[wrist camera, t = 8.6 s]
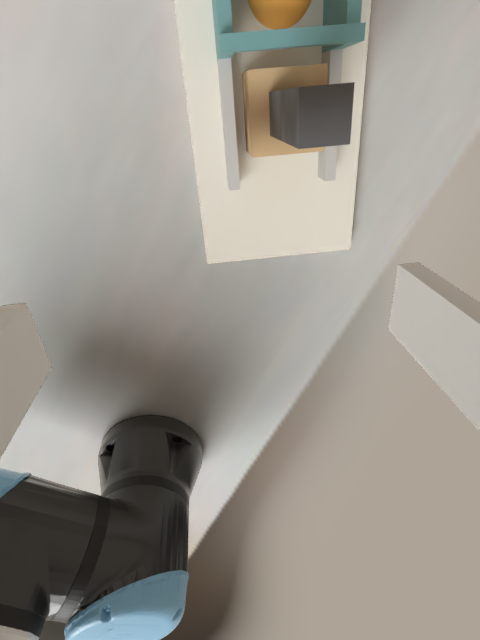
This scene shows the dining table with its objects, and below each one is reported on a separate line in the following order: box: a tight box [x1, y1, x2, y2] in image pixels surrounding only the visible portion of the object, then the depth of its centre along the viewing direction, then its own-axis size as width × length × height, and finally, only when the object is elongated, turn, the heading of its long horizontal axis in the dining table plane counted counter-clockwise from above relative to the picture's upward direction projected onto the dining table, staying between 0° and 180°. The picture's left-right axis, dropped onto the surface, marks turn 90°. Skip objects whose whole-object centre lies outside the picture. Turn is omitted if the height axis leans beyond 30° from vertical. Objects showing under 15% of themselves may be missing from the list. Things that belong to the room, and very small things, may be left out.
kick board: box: [173, 0, 372, 264], centre depth 33 cm, size 27×16×4 cm, turn 4°
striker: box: [242, 63, 355, 158], centre depth 27 cm, size 6×6×15 cm
